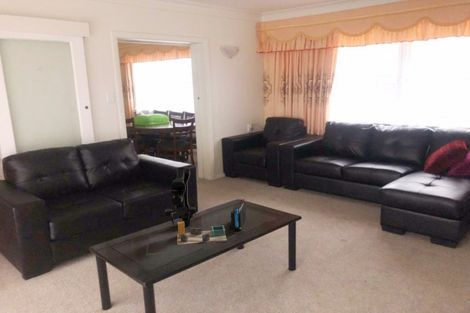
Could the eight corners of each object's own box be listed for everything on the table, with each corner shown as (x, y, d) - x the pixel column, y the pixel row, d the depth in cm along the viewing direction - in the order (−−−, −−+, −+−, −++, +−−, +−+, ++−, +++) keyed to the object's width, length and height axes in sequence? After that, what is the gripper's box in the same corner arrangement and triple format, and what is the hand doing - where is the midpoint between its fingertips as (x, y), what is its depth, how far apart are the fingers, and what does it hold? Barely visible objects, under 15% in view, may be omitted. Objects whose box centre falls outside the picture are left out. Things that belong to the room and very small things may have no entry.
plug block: (178, 235, 234) (177, 222, 232) (185, 234, 235) (184, 221, 233) (178, 237, 230) (177, 224, 229) (185, 237, 231) (184, 223, 229)
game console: (239, 232, 237) (238, 211, 235) (230, 232, 239) (229, 210, 236) (247, 217, 264) (246, 198, 262) (238, 217, 266) (238, 197, 263)
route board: (177, 235, 237) (176, 227, 236) (223, 230, 241) (223, 223, 240) (177, 246, 220) (176, 238, 220) (226, 241, 225) (226, 233, 224)
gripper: (163, 206, 219) (165, 230, 222) (195, 203, 222) (196, 227, 224) (164, 200, 230) (166, 224, 233) (194, 198, 232) (195, 221, 235)
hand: (181, 224), depth 231 cm, fingers open, 9 cm apart
